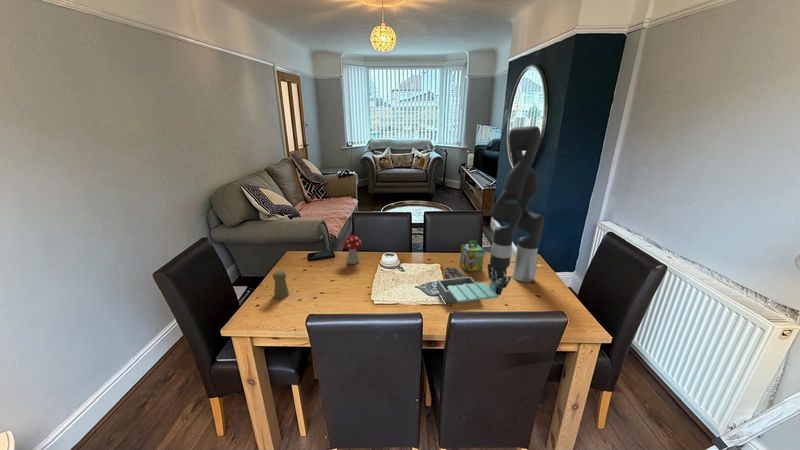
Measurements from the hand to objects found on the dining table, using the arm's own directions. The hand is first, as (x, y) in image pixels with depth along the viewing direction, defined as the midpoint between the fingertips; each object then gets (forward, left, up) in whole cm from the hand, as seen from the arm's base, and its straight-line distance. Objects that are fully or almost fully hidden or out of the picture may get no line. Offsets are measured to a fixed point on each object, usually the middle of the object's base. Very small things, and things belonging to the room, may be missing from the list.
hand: (495, 292), depth 132 cm
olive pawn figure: (+85, -30, -8) cm, 90 cm away
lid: (+8, 0, +1) cm, 9 cm away
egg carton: (+5, -29, -8) cm, 31 cm away
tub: (+10, -13, -8) cm, 18 cm away
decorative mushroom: (+51, -56, -8) cm, 76 cm away
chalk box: (-8, -37, -8) cm, 39 cm away
